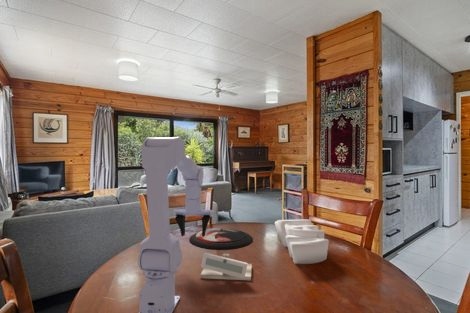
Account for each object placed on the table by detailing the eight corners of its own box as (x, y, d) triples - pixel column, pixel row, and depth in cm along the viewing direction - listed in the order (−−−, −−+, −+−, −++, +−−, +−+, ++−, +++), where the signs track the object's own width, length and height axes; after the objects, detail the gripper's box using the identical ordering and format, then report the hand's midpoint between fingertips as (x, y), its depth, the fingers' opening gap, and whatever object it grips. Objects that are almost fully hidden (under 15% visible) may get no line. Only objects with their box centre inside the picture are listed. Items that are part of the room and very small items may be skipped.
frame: (244, 279, 73) (247, 265, 73) (200, 268, 75) (203, 254, 74) (244, 277, 75) (247, 263, 75) (201, 265, 76) (204, 252, 76)
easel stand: (251, 280, 75) (250, 257, 75) (200, 278, 76) (200, 255, 76) (251, 267, 84) (251, 246, 84) (206, 265, 85) (206, 244, 85)
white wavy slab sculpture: (335, 270, 82) (335, 239, 82) (286, 270, 82) (286, 239, 82) (307, 236, 117) (307, 214, 117) (273, 236, 117) (273, 214, 117)
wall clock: (179, 252, 103) (248, 253, 97) (178, 242, 103) (247, 242, 97) (200, 233, 129) (256, 232, 123) (200, 224, 129) (255, 223, 123)
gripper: (214, 196, 91) (214, 232, 91) (177, 196, 92) (177, 231, 92) (211, 200, 84) (211, 238, 84) (171, 199, 85) (171, 237, 85)
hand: (193, 235), depth 88 cm, fingers open, 7 cm apart
